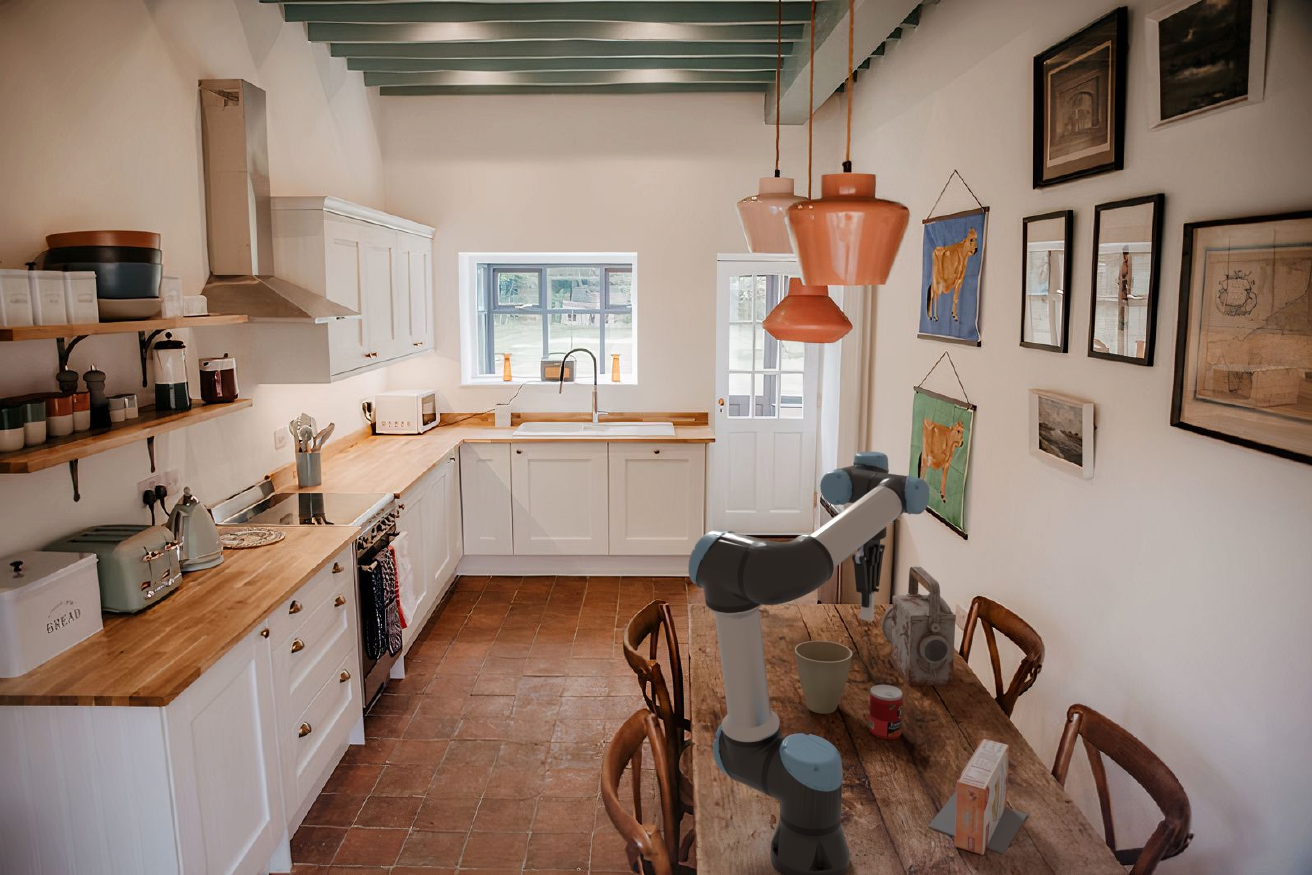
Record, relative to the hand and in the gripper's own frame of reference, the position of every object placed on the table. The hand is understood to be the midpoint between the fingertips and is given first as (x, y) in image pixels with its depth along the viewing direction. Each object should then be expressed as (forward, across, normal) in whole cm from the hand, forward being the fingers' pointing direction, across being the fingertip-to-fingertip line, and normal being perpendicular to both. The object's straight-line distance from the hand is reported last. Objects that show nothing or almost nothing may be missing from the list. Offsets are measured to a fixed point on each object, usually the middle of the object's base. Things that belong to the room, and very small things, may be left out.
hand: (867, 619), depth 203 cm
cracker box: (+27, -1, -30) cm, 41 cm away
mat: (+34, -10, -30) cm, 47 cm away
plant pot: (+35, +18, +20) cm, 44 cm away
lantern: (+35, +56, +9) cm, 67 cm away
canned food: (+35, +15, +1) cm, 38 cm away
